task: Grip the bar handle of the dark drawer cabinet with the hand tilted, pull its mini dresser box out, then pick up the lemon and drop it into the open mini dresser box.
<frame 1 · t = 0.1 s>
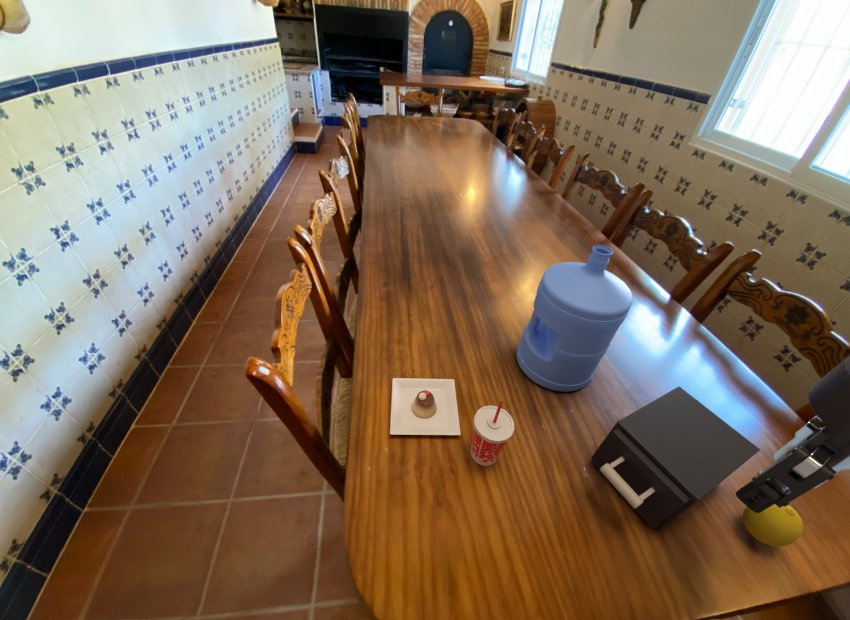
hand: (767, 483, 38), 20 cm above the table, tool pointing down, fingers open, 8 cm apart
dessert: (424, 408, 66), on the table
lemon: (751, 532, 53), on the table
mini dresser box: (653, 464, 54), point 5 cm above the table, slide at 0.0 cm
beverage cup: (483, 453, 60), on the table
dark drawer cabinet: (653, 469, 59), on the table
water jug: (551, 364, 76), on the table
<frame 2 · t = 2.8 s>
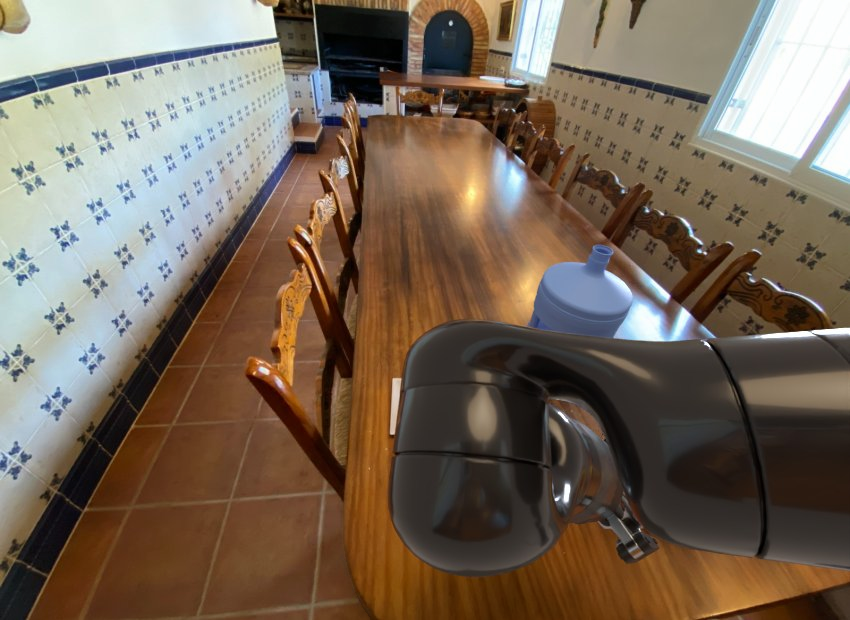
hand: (601, 482, 40), 16 cm above the table, tool tilted 40°, fingers open, 8 cm apart
nothing on the table moved.
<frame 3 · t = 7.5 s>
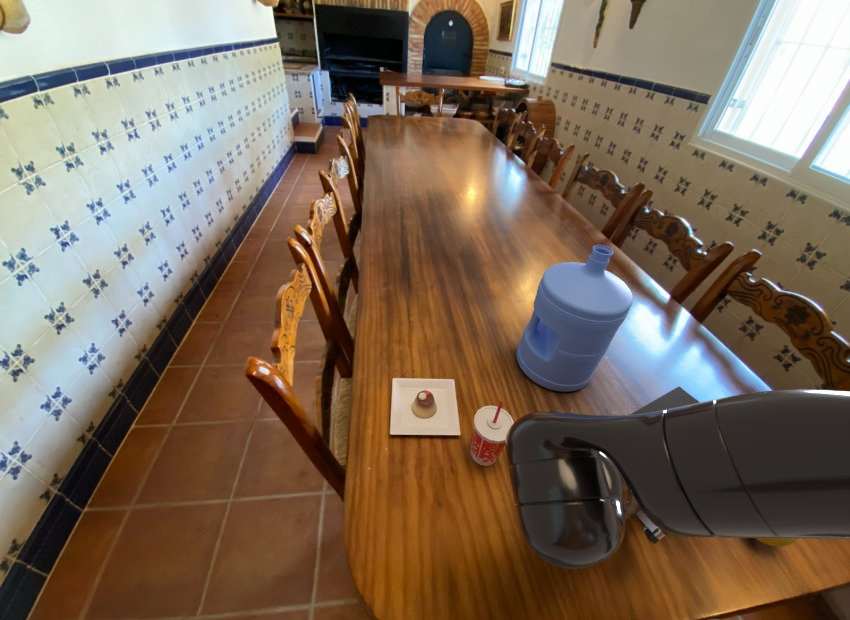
hand: (625, 483, 52), 5 cm above the table, tool tilted 45°, fingers closed on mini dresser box, 6 cm apart
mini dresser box: (653, 464, 54), point 5 cm above the table, slide at 0.0 cm, touching gripper
everything else where it was.
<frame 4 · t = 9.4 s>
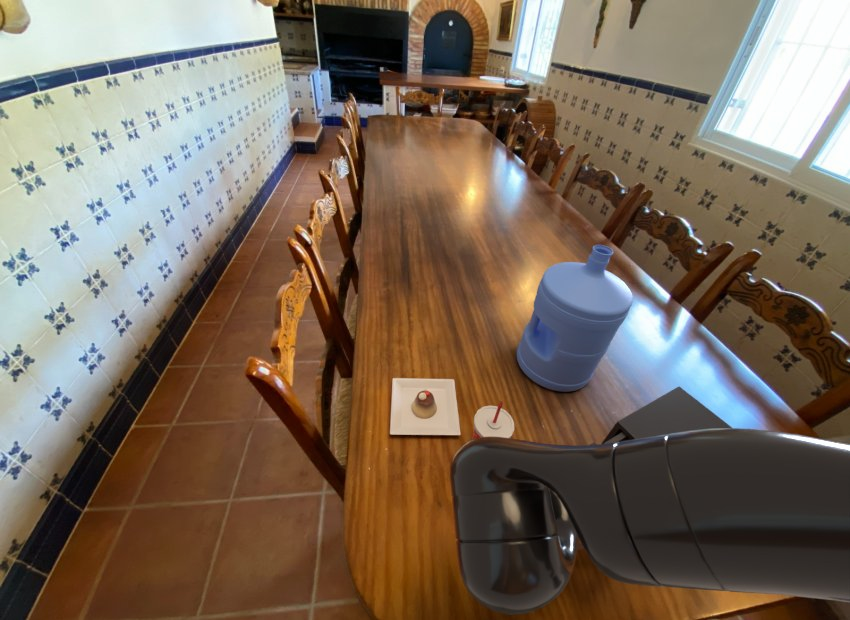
hand: (601, 500, 50), 5 cm above the table, tool tilted 45°, fingers closed on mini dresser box, 6 cm apart
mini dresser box: (631, 479, 52), point 5 cm above the table, slide at 5.3 cm, touching gripper
everything else where it was.
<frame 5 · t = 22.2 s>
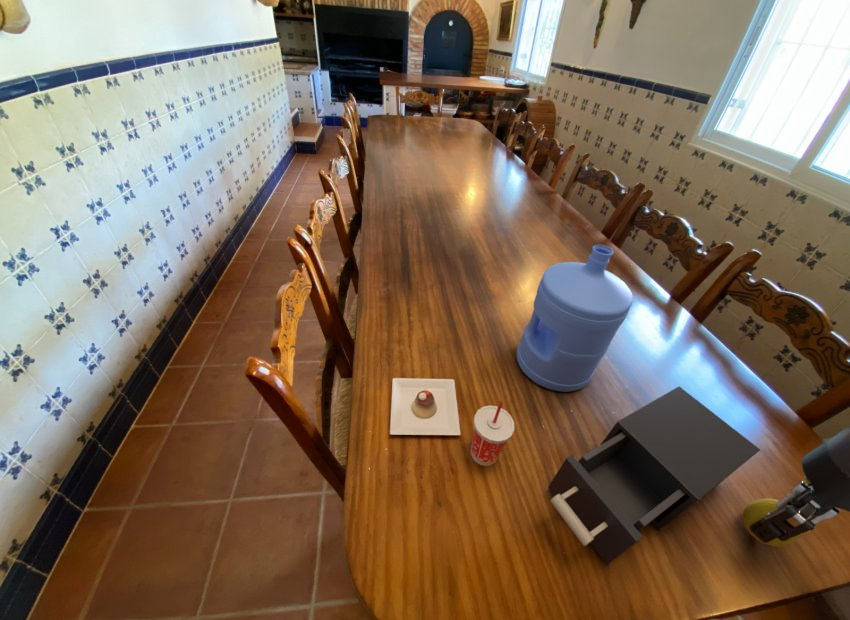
hand: (768, 523, 51), 4 cm above the table, tool pointing down, fingers closed on lemon, 5 cm apart
lemon: (751, 533, 53), on the table, touching gripper
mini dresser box: (611, 493, 51), point 5 cm above the table, slide at 9.7 cm
everything else where it was.
when the fingers open (10 cm above the table, at t = 29.7 s): lemon drops 5 cm, resting on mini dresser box.
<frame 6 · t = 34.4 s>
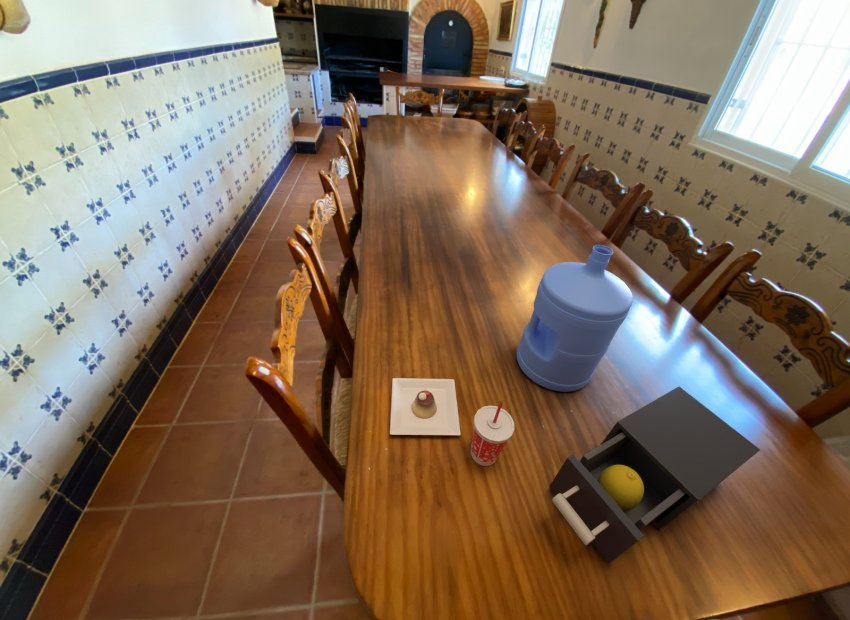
lemon: (607, 500, 53), point 2 cm above the table, touching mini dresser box
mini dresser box: (612, 492, 51), point 5 cm above the table, slide at 9.4 cm, touching lemon
everything else where it was.
at the end: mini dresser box slide at 9.4 cm; lemon inside the target area in the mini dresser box (0.1 cm from its centre), point 1.8 cm above the dark drawer cabinet's base; the gripper is holding nothing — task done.
